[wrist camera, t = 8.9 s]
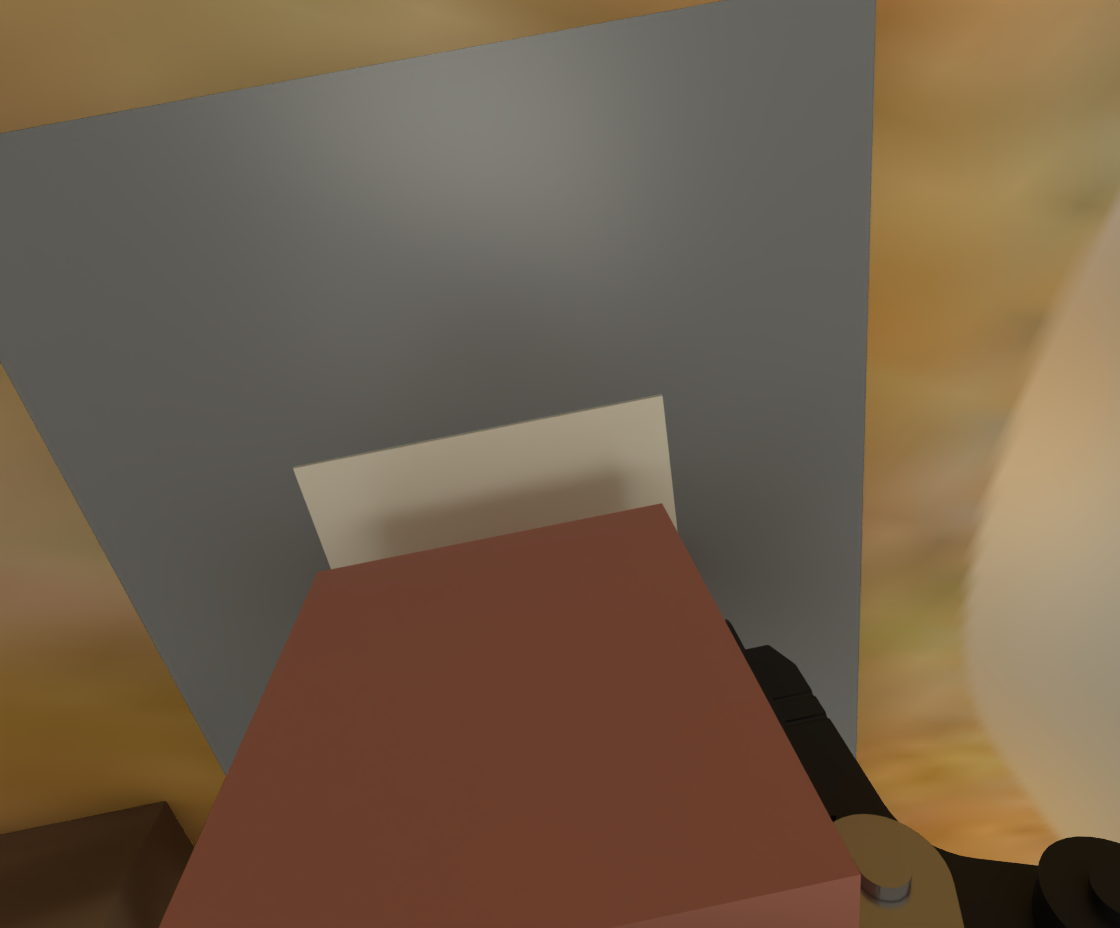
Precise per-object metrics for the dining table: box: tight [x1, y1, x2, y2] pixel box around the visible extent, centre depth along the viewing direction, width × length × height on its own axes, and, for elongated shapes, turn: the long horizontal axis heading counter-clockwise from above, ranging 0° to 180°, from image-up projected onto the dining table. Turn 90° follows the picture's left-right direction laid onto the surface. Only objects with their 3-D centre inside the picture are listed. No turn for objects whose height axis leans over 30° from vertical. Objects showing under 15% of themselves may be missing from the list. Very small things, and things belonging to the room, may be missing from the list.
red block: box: [159, 503, 861, 928], centre depth 9 cm, size 6×6×6 cm
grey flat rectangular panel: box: [0, 0, 876, 776], centre depth 14 cm, size 19×15×1 cm
